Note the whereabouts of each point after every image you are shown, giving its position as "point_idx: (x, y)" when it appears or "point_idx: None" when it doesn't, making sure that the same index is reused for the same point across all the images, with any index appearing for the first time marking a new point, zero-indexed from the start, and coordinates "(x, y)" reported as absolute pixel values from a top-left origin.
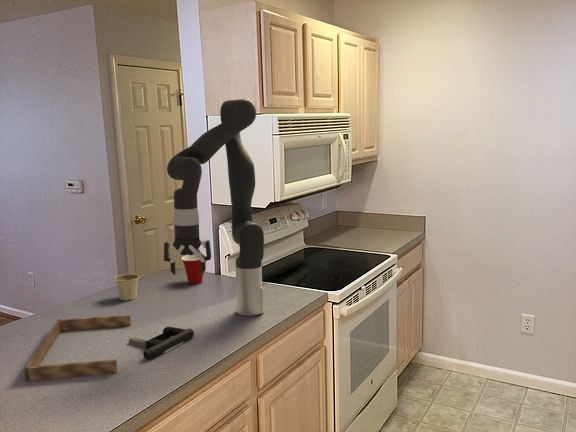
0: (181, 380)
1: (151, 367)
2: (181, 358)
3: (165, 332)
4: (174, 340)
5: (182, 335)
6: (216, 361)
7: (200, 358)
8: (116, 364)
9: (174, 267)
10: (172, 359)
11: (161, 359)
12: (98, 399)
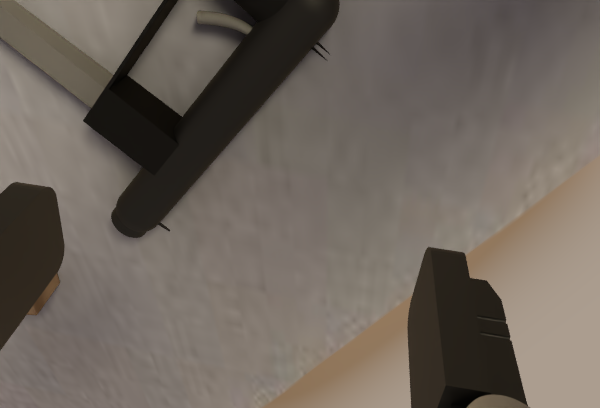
0: (291, 368)
1: (172, 271)
2: (281, 230)
3: (161, 9)
4: (232, 134)
5: (270, 86)
6: None
7: (362, 247)
8: (43, 298)
9: (3, 334)
10: (244, 230)
11: (198, 220)
12: (72, 396)
